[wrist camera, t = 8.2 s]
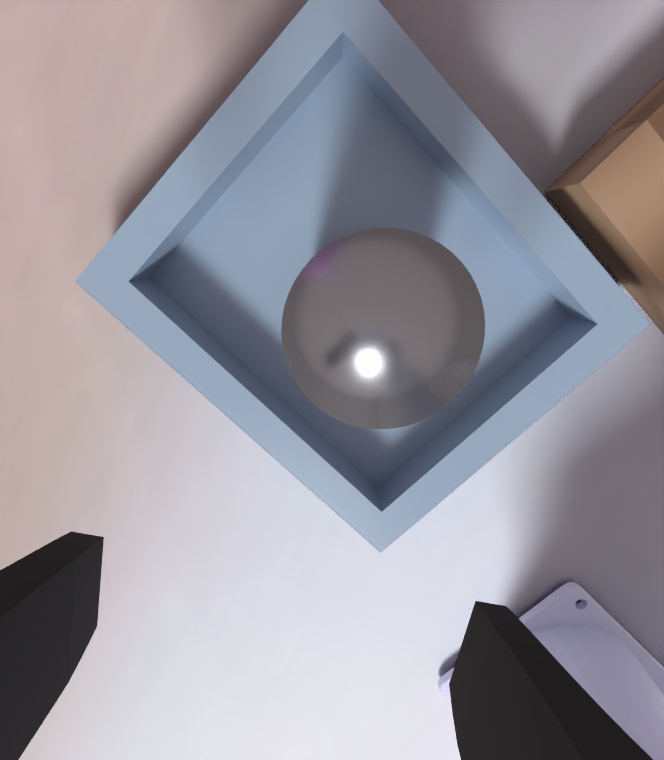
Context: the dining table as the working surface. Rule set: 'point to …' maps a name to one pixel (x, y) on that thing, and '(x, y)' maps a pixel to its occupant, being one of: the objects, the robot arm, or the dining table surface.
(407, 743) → the dining table surface
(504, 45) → the dining table surface
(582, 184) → the socket block
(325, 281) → the pin
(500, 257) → the tray
